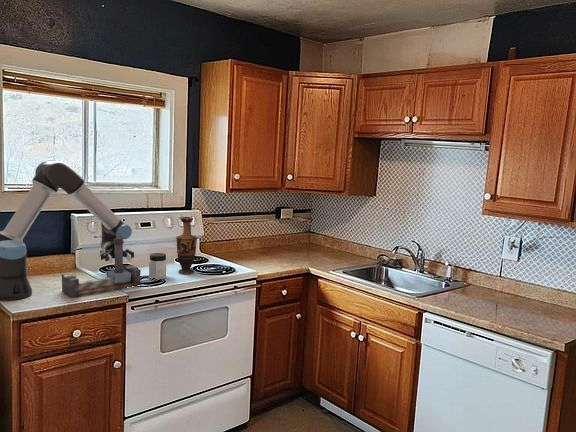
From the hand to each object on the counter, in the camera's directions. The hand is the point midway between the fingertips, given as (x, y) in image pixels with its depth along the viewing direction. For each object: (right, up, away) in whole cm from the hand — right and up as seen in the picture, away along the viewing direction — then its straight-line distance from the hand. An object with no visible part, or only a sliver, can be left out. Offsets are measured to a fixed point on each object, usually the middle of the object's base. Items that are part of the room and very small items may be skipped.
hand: (120, 259), depth 227 cm
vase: (+23, -10, +36) cm, 44 cm away
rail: (-9, -14, 0) cm, 16 cm away
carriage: (-3, -10, +6) cm, 12 cm away
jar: (+11, -12, +24) cm, 29 cm away
